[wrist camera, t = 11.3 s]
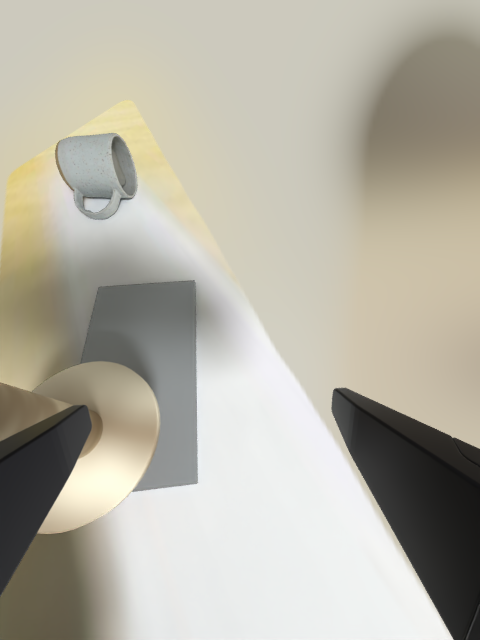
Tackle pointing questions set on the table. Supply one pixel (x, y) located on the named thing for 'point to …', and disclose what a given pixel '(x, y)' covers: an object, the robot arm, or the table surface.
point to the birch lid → (92, 435)
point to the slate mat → (155, 365)
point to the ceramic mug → (97, 170)
